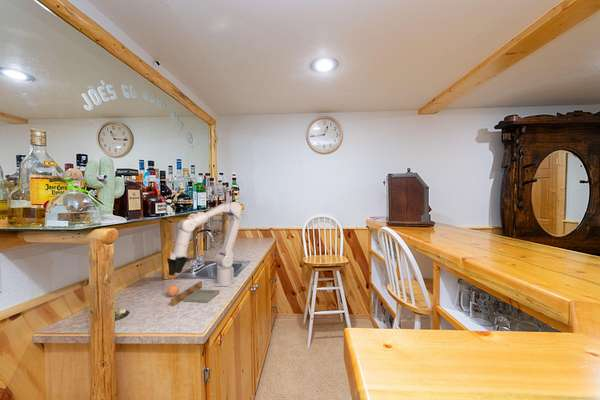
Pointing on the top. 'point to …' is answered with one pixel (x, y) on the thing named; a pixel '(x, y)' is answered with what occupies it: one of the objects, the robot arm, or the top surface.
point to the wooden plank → (185, 293)
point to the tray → (202, 296)
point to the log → (120, 313)
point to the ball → (173, 290)
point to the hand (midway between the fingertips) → (174, 273)
